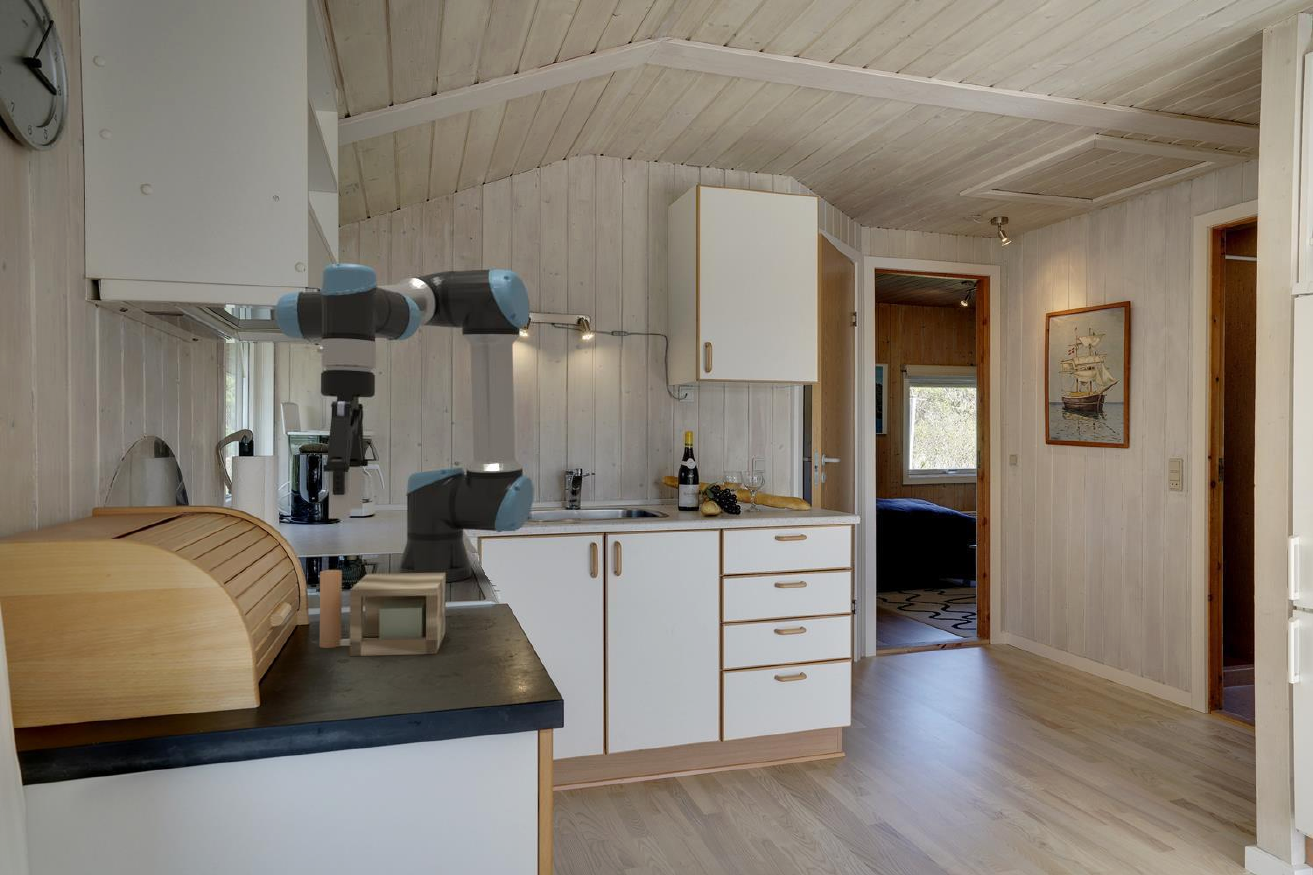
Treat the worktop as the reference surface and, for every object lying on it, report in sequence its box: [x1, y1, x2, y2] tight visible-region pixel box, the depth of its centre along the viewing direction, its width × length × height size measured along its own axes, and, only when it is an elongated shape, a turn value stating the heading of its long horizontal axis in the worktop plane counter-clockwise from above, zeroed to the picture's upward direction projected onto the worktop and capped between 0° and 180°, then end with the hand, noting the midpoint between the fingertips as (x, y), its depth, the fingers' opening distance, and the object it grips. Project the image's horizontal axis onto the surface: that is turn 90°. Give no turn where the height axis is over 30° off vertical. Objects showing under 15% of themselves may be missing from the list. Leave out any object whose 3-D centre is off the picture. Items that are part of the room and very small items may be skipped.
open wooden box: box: [349, 572, 447, 657], centre depth 124 cm, size 12×12×10 cm
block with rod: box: [319, 569, 426, 649], centre depth 123 cm, size 6×15×11 cm, turn 99°
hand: (346, 513), depth 122 cm, fingers open, 13 cm apart
